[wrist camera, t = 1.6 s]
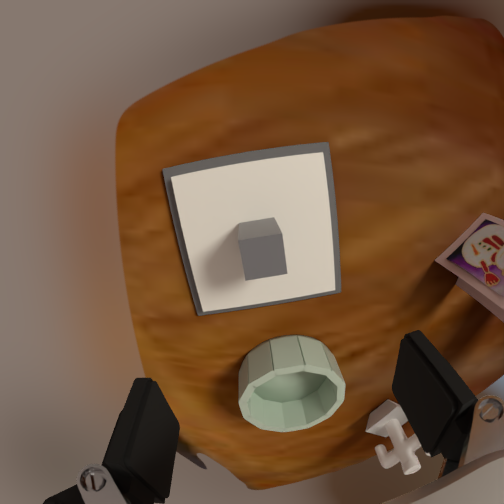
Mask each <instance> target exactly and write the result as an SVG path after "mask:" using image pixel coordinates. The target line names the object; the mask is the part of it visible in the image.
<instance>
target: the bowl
mask: <svg viewBox="0 0 504 504" xmlns="http://www.w3.org/2000/svg"><path fill="white" fill-rule="evenodd" d="M344 395H345V382H344V379H343V377H342V374H341V372H340V369H339V367H338V365H337V362H336V360H335V357H334V355H333V354H332V353H331V352H330V350H329V349H328V348H327V346H326V345H325V344H323V343H322V342H321V341H319V340H317V339H315V338H312V337H309V336H304V335H284V336H279V337H275V338H272V339H269V340H267V341H264V342H263V343H261V344H259V345H257V346H256V347H255V348H253V349H252V350H251V351H250V352H249V353H248V354H247V356H246V357H245V358H244V360H243V362H242V365H241V368H240V370H239V397H238V403H239V406H240V409H241V412H242V415H243V418H244V419H245V420H247V421H249V422H250V423H252V424H253V425H255V426H257V427H258V428H260V429H264V430H271V431H278V432H284V431H285V432H289V431H295V430H301V429H306V428H308V427H309V428H310V427H312V426H314V425H316V424H318V423H320V422H321V421H323V420H325V419H327V418H329V417H330V416H331V415H332V414H333V413H334V412H335V411H336V410H337V409H338V407H339V406H340V405H341V404H342V403H343V400H344Z"/></svg>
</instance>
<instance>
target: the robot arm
mask: <svg viewBox="0 0 504 504" xmlns="http://www.w3.org/2000/svg"><path fill="white" fill-rule="evenodd" d="M392 391H393V393H394V395H395V397H396V399H397V401H398V402H399V404H400V406H401V408H402V410H403V412H404V413H405V415H406V417H407V419H408V421H409V423H410V425H411V427H412V428H413V430H414V432H415V434H416V436H417V438H418V440H419V442H420V444H421V446H422V448H423V450H424V451H425V452H426V453H429V454H430V456H431V457H433V456H435V455H437V454H439V453H442V455H443V457H444V461H443V465H442V467H441V471H440V474H439V477H438V479H437V480H435V481H433V482H431V483H429V484H427V485H425V486H423V487H420V488H418V489H416V490H413V491H411V492H409V493H407V494H405V495H402V496H399V497H397V498H394V499H392V500H389V501H386V502H383V503H381V504H504V401H503V400H502V399H501V398H499V397H497V396H493V395H487V396H484V397H482V398H481V399H479V400H478V399H477V398H476V397H475V395H474V394H473V393H472V391H471V390H470V389H469V388H468V386H467V385H466V384H465V382H464V381H463V380H462V379H461V377H460V376H459V375H458V374H457V372H456V371H455V370H454V369H453V368H452V366H451V365H450V364H449V363H448V361H447V360H446V359H445V358H444V357H443V356H442V355H441V354H440V353H439V352H438V351H437V349H436V348H435V347H434V346H433V345H432V343H431V342H430V341H429V340H428V339H427V338H426V337H425V335H424V334H423V333H422V332H421V331H420V330H417V331H414V332H411V333H408V334H405V336H404V339H402V340H401V343H400V349H399V355H398V360H397V365H396V370H395V375H394V379H393V383H392ZM179 430H180V426H179V422H178V420H177V419H176V417H175V415H174V413H173V412H172V410H171V408H170V406H169V404H168V403H167V401H166V399H165V397H164V395H163V393H162V391H161V390H160V388H159V386H158V384H157V382H156V381H153V380H152V379H151V378H136V379H135V380H134V383H133V386H132V388H131V390H130V393H129V395H128V398H127V401H126V403H125V406H124V408H123V410H122V411H121V413H120V414H119V417H118V420H117V422H116V426H115V428H114V431H113V434H112V436H111V439H110V442H109V445H108V448H107V451H106V453H105V457H104V460H103V462H102V465H99V464H90V465H87V466H85V467H84V468H82V469H81V470H80V472H79V473H78V476H77V484H76V485H74V486H73V487H71V488H68V489H66V490H64V491H62V492H60V493H58V494H56V495H54V496H52V497H49V498H48V499H46V500H45V501H44V503H43V504H154V503H163V504H164V503H165V498H168V497H169V494H170V487H171V480H172V473H173V467H174V460H175V454H176V448H177V442H178V436H179Z"/></svg>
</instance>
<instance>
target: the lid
mask: <svg viewBox="0 0 504 504" xmlns="http://www.w3.org/2000/svg"><path fill="white" fill-rule="evenodd" d="M171 180H172V185H173V190H174V195H175V199H176V204H177V209H178V213H179V218H180V222H181V227H182V231H183V235H184V240H185V244H186V248H187V252H188V256H189V260H190V264H191V268H192V272H193V276H194V280H195V284H196V287H197V291H198V295H199V299H200V302H201V306H202V309H203V312H206V311H213V310H220V309H227V308H234V307H241V306H248V305H254V304H260V303H267V302H273V301H279V300H285V299H290V298H296V297H302V296H307V295H312V294H318V293H323V292H328V291H333V290H335V271H334V254H333V239H332V227H331V215H330V205H329V195H328V186H327V178H326V170H325V162H324V155H323V152H319V153H310V154H301V155H293V156H285V157H277V158H270V159H263V160H257V161H251V162H244V163H238V164H233V165H227V166H222V167H216V168H211V169H206V170H201V171H196V172H191V173H187V174H182V175H177V176H173V177H171Z"/></svg>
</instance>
